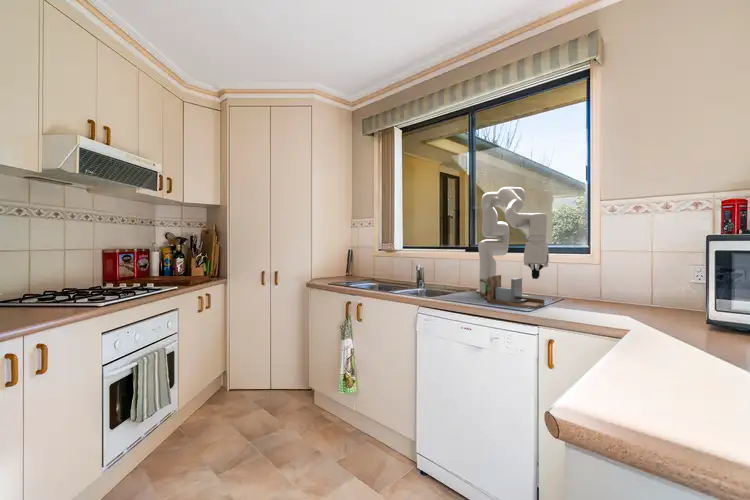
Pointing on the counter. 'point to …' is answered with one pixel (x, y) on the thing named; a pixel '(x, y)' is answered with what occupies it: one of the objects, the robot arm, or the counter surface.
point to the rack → (491, 298)
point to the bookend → (517, 291)
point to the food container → (483, 288)
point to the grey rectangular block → (503, 294)
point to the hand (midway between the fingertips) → (535, 278)
